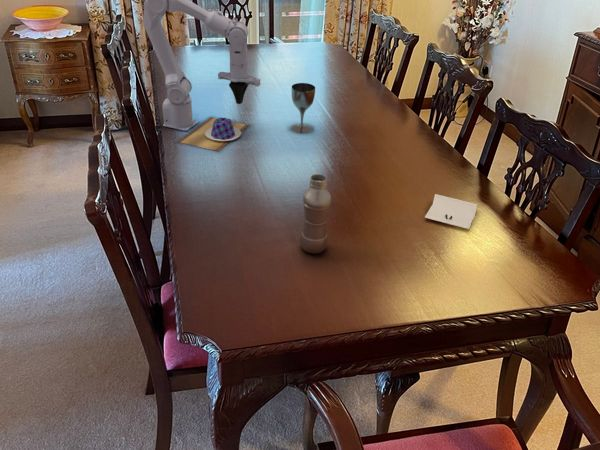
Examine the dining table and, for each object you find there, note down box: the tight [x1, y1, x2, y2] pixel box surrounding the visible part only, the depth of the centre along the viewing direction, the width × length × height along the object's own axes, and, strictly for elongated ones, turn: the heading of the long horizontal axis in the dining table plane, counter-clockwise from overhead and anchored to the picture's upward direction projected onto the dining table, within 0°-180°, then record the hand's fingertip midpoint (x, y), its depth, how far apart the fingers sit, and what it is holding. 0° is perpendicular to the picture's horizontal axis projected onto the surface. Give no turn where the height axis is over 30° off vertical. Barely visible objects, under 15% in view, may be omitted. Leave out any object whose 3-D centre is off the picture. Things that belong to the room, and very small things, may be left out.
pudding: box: [205, 117, 242, 141], centre depth 184 cm, size 12×12×5 cm
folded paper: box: [424, 193, 478, 230], centre depth 150 cm, size 12×12×2 cm
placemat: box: [177, 117, 249, 152], centre depth 187 cm, size 15×22×1 cm
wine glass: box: [290, 82, 316, 134], centre depth 189 cm, size 8×8×15 cm
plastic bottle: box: [299, 173, 332, 255], centre depth 130 cm, size 6×7×20 cm
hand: (239, 102), depth 186 cm, fingers closed
